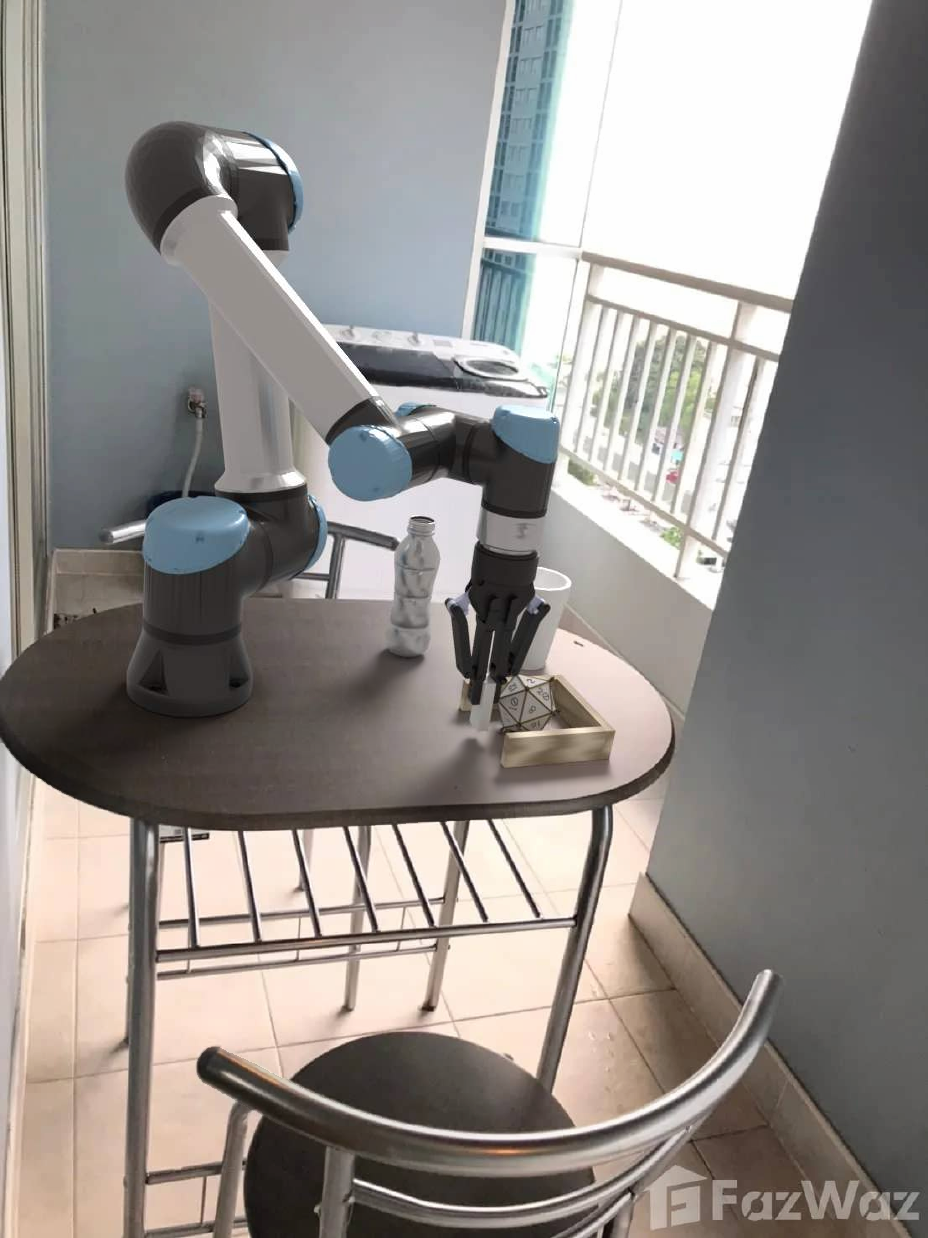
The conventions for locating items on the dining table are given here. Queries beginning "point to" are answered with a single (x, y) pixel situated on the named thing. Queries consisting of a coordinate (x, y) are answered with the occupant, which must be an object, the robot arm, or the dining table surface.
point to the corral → (557, 731)
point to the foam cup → (556, 595)
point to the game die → (526, 704)
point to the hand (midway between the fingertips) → (478, 725)
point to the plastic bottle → (413, 589)
